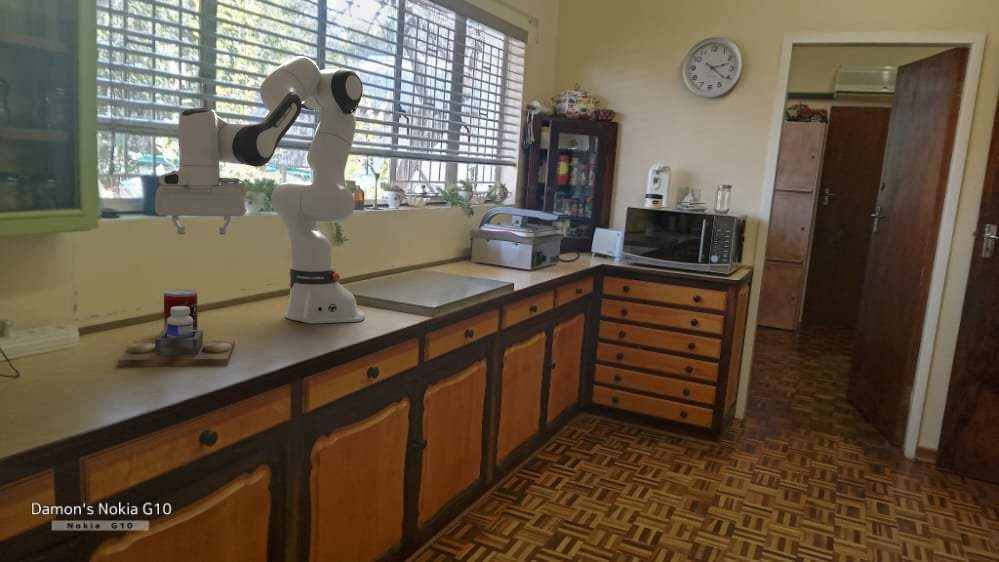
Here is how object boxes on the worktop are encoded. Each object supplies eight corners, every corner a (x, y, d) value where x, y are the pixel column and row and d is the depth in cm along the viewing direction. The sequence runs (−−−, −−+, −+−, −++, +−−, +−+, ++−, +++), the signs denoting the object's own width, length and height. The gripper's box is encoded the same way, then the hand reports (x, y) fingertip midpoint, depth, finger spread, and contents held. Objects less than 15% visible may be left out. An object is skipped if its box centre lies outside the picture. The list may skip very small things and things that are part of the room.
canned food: (185, 338, 179) (185, 295, 177) (157, 335, 180) (156, 292, 178) (204, 332, 186) (203, 290, 184) (176, 328, 188) (176, 287, 186)
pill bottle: (163, 348, 164) (162, 306, 162) (186, 345, 168) (186, 304, 166) (173, 354, 160) (173, 311, 158) (197, 350, 164) (197, 308, 162)
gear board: (234, 346, 174) (234, 326, 174) (227, 365, 159) (227, 343, 158) (135, 347, 169) (134, 326, 168) (118, 366, 153) (117, 344, 153)
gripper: (246, 177, 178) (248, 232, 181) (156, 175, 173) (159, 232, 176) (245, 179, 172) (246, 236, 175) (151, 176, 167) (154, 235, 170)
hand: (202, 234), depth 175 cm, fingers open, 8 cm apart
